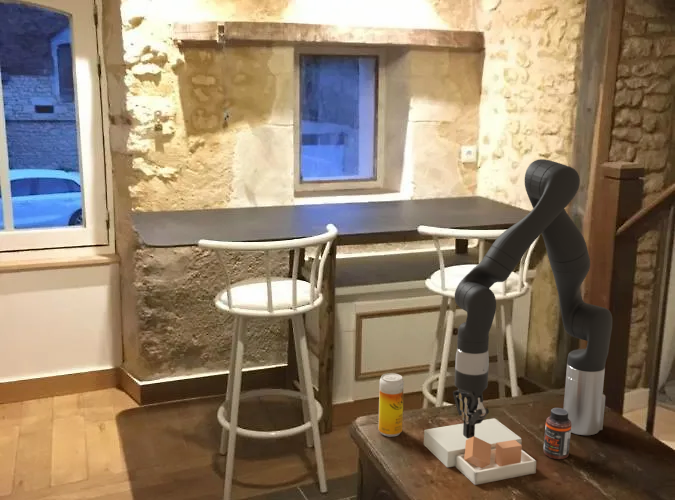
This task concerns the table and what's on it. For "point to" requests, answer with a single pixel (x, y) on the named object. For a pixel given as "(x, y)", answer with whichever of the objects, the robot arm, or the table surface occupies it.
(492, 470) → the tray
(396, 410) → the beer can
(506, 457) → the tile
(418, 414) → the table surface
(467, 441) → the orange square block
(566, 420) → the supplement bottle
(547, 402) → the table surface
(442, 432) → the slab
